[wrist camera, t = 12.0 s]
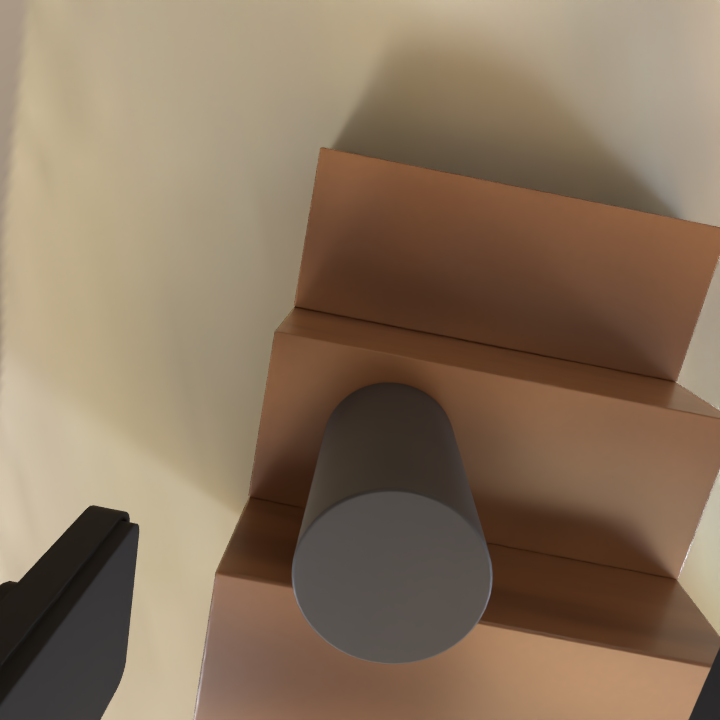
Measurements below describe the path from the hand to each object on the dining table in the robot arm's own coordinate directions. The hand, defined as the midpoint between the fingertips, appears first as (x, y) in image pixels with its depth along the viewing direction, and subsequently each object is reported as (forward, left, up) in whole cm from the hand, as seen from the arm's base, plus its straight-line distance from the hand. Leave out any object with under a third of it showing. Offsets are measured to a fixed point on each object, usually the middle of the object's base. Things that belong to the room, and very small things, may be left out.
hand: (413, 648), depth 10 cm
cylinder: (+1, 0, -10) cm, 10 cm away
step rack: (0, +3, -17) cm, 17 cm away
